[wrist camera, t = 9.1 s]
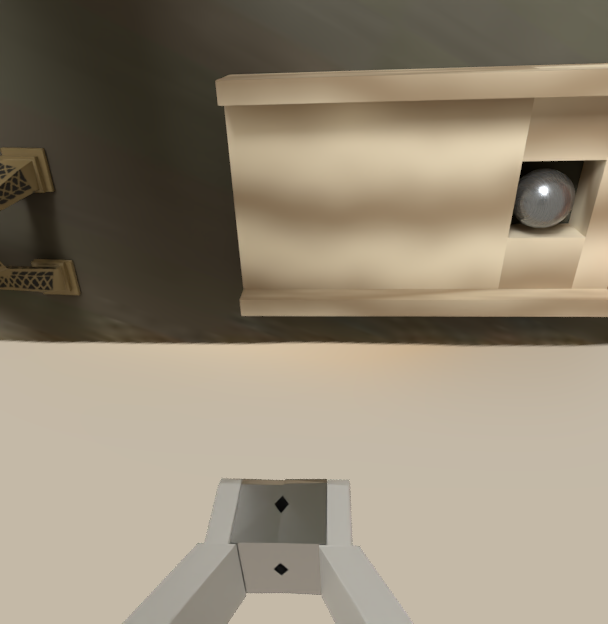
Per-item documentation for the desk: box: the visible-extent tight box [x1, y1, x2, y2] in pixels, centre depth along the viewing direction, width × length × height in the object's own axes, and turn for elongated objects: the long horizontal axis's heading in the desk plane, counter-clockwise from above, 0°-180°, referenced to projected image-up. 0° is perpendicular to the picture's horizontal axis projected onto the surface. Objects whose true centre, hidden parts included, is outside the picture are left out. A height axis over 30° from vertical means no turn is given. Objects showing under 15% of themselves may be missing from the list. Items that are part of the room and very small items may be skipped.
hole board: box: [215, 63, 608, 317], centre depth 29 cm, size 14×25×6 cm, turn 91°
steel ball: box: [513, 168, 575, 228], centre depth 29 cm, size 4×4×4 cm
